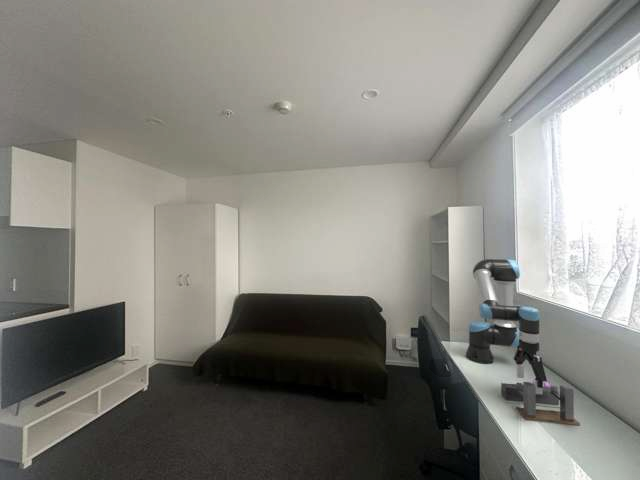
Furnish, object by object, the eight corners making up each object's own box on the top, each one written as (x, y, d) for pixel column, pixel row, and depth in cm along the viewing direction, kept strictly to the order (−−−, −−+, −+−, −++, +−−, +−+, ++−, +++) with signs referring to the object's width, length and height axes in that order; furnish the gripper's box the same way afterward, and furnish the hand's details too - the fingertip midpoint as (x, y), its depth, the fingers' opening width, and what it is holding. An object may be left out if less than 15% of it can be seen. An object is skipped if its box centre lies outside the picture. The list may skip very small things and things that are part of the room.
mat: (498, 394, 126) (498, 393, 126) (553, 399, 122) (553, 398, 122) (505, 402, 120) (505, 401, 120) (563, 408, 116) (563, 407, 116)
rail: (501, 395, 125) (501, 383, 125) (552, 400, 122) (552, 387, 122) (506, 400, 121) (505, 387, 121) (558, 405, 118) (558, 392, 118)
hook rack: (511, 405, 118) (511, 374, 118) (561, 410, 115) (560, 378, 115) (525, 419, 108) (525, 386, 109) (580, 425, 105) (579, 391, 105)
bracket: (549, 399, 123) (549, 385, 123) (534, 396, 126) (534, 382, 126) (542, 386, 134) (542, 373, 134) (529, 384, 137) (529, 370, 137)
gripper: (505, 330, 135) (505, 371, 135) (537, 351, 110) (537, 400, 110) (521, 331, 133) (521, 372, 134) (557, 352, 109) (557, 402, 109)
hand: (528, 385), depth 122 cm, fingers open, 13 cm apart
